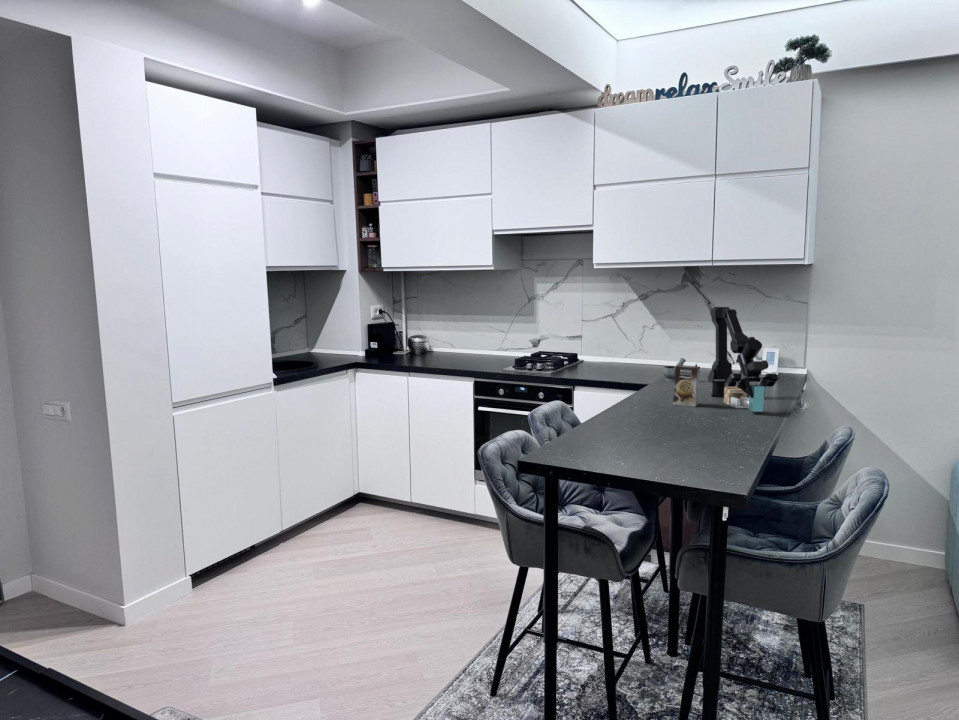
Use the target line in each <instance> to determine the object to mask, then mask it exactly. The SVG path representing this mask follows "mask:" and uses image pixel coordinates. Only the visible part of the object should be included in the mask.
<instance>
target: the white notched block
mask: <svg viewBox="0 0 959 720" xmlns="http://www.w3.org/2000/svg"><path fill="white" fill-rule="evenodd" d="M746 398H748V399H749V397H747V396H746ZM730 406H731V407H734V408H735V409H748V407H746V406H744V405H742V404H740V400H739V399H737V398H735V397H731V405H730Z"/></svg>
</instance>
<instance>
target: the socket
mask: <svg viewBox="0 0 959 720" xmlns="http://www.w3.org/2000/svg"><path fill="white" fill-rule="evenodd" d="M731 397H735V398H737V399H739V398H740V397H747V393H745V392H744V391H743V390H741V389H740V388H738V387H737V386H735V387H729V386H726V387H725V389H724V397H723V403H724V404H726V405H729V406H731Z"/></svg>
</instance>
